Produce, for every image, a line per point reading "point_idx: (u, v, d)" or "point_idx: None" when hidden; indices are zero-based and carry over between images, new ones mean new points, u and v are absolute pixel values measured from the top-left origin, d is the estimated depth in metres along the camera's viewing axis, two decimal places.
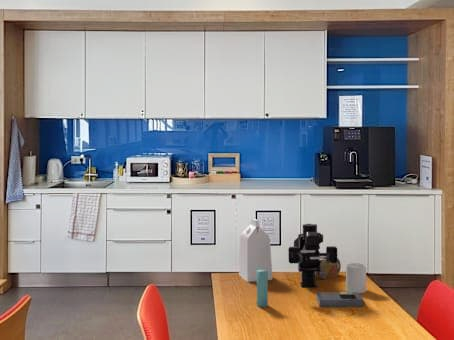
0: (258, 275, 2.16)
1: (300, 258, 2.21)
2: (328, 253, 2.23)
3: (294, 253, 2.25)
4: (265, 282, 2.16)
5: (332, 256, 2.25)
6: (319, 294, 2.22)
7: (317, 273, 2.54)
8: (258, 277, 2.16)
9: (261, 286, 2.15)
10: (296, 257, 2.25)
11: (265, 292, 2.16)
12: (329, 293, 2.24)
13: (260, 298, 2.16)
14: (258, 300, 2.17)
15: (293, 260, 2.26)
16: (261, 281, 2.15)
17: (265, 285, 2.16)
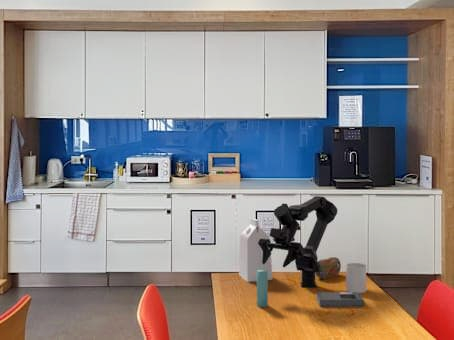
0: (258, 275, 2.16)
1: None
2: (288, 255, 2.21)
3: None
4: (265, 282, 2.16)
5: (296, 254, 2.22)
6: (319, 294, 2.22)
7: (317, 273, 2.54)
8: (258, 277, 2.16)
9: (261, 286, 2.15)
10: None
11: (265, 292, 2.16)
12: (329, 293, 2.24)
13: (260, 298, 2.16)
14: (258, 300, 2.17)
15: None
16: (261, 281, 2.15)
17: (265, 285, 2.16)
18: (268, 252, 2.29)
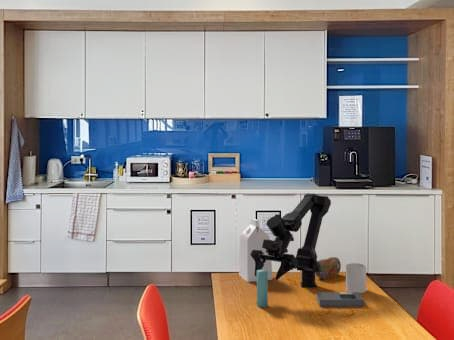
0: (258, 275, 2.16)
1: None
2: (281, 267, 2.17)
3: None
4: (265, 282, 2.16)
5: (289, 266, 2.18)
6: (319, 294, 2.22)
7: (317, 273, 2.54)
8: (258, 277, 2.16)
9: (261, 286, 2.15)
10: None
11: (265, 292, 2.16)
12: (329, 293, 2.24)
13: (260, 298, 2.16)
14: (258, 300, 2.17)
15: None
16: (261, 281, 2.15)
17: (265, 285, 2.16)
18: (261, 264, 2.25)
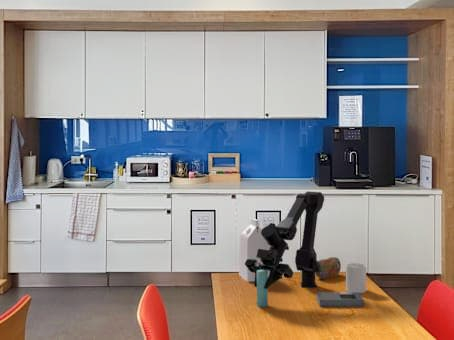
0: (258, 275, 2.16)
1: None
2: (270, 276, 2.16)
3: (255, 269, 2.22)
4: (265, 282, 2.16)
5: (278, 275, 2.17)
6: (319, 294, 2.22)
7: (317, 273, 2.54)
8: (258, 277, 2.16)
9: (261, 286, 2.15)
10: None
11: (265, 292, 2.16)
12: (329, 293, 2.24)
13: (260, 298, 2.16)
14: (258, 300, 2.17)
15: None
16: (261, 281, 2.15)
17: None
18: None
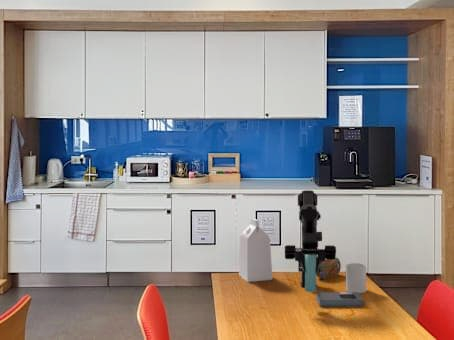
0: (309, 260, 2.11)
1: (302, 267, 2.13)
2: (319, 260, 2.13)
3: (297, 255, 2.16)
4: (315, 266, 2.12)
5: (323, 257, 2.16)
6: (319, 294, 2.22)
7: (317, 273, 2.54)
8: (309, 262, 2.11)
9: (313, 271, 2.11)
10: (299, 257, 2.17)
11: (315, 276, 2.12)
12: (329, 293, 2.24)
13: (312, 283, 2.12)
14: (309, 285, 2.12)
15: (296, 259, 2.18)
16: (313, 265, 2.11)
17: (315, 269, 2.12)
18: None
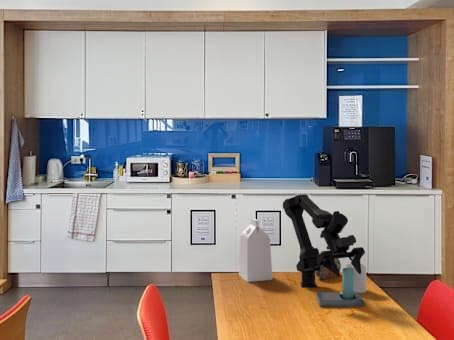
0: (350, 273, 2.16)
1: (335, 272, 2.16)
2: (359, 261, 2.21)
3: (327, 260, 2.17)
4: None
5: None
6: (319, 294, 2.22)
7: (317, 273, 2.54)
8: (350, 275, 2.16)
9: (352, 284, 2.17)
10: (327, 263, 2.19)
11: None
12: (329, 293, 2.24)
13: (352, 296, 2.17)
14: (349, 298, 2.17)
15: (323, 265, 2.19)
16: (352, 279, 2.17)
17: None
18: None
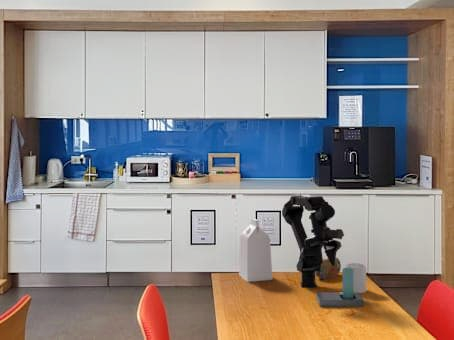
0: (350, 273, 2.16)
1: (319, 258, 2.24)
2: (335, 254, 2.32)
3: (316, 246, 2.23)
4: None
5: None
6: (319, 294, 2.22)
7: (317, 273, 2.54)
8: (350, 275, 2.16)
9: (352, 284, 2.17)
10: (314, 247, 2.25)
11: None
12: (329, 293, 2.24)
13: (352, 296, 2.17)
14: (349, 298, 2.17)
15: (310, 247, 2.25)
16: (352, 279, 2.17)
17: None
18: None
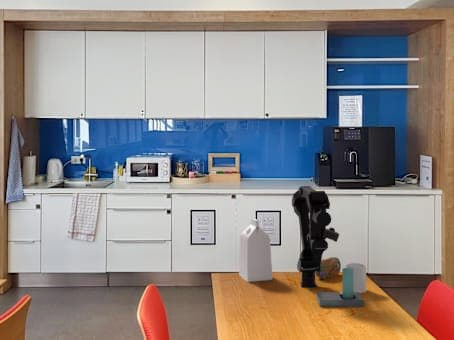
0: (350, 273, 2.16)
1: (318, 260, 2.25)
2: None
3: None
4: None
5: None
6: (319, 294, 2.22)
7: (317, 273, 2.54)
8: (350, 275, 2.16)
9: (352, 284, 2.17)
10: None
11: None
12: (329, 293, 2.24)
13: (352, 296, 2.17)
14: (349, 298, 2.17)
15: None
16: (352, 279, 2.17)
17: None
18: None
